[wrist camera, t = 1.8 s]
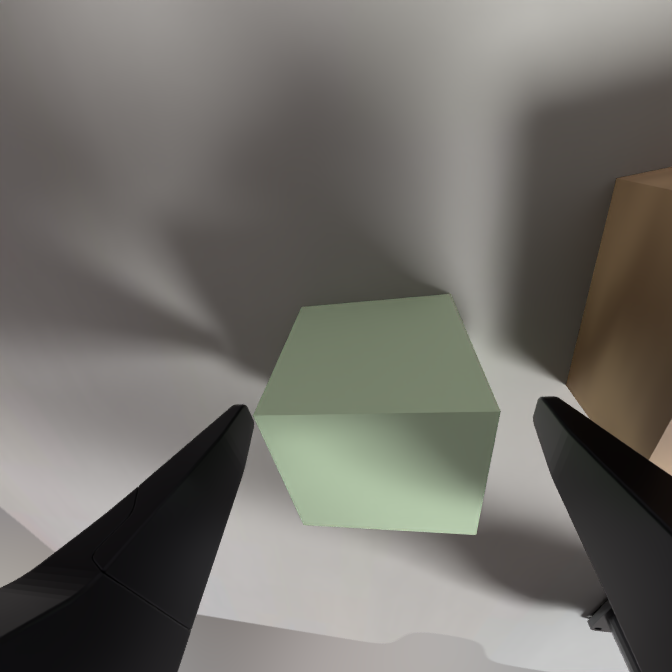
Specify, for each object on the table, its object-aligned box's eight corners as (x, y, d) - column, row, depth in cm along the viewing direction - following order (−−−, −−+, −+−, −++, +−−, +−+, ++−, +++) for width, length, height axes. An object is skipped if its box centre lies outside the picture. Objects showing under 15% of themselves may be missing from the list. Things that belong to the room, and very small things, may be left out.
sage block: (444, 401, 12) (476, 535, 8) (327, 404, 13) (303, 524, 9) (450, 292, 10) (500, 411, 6) (302, 305, 11) (252, 415, 7)
